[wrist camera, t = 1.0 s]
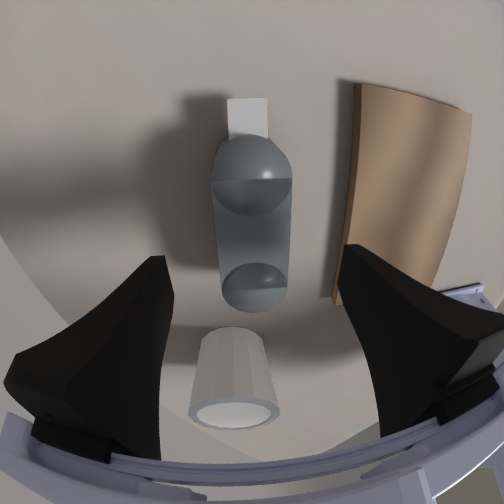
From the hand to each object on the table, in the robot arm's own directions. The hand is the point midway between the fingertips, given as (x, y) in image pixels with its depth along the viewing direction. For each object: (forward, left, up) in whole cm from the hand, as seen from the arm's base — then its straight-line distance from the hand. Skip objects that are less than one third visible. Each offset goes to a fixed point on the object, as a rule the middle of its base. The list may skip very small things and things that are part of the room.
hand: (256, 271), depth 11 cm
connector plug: (0, 0, -7) cm, 7 cm away
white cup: (+2, +13, -7) cm, 15 cm away
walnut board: (-11, 0, -6) cm, 13 cm away
